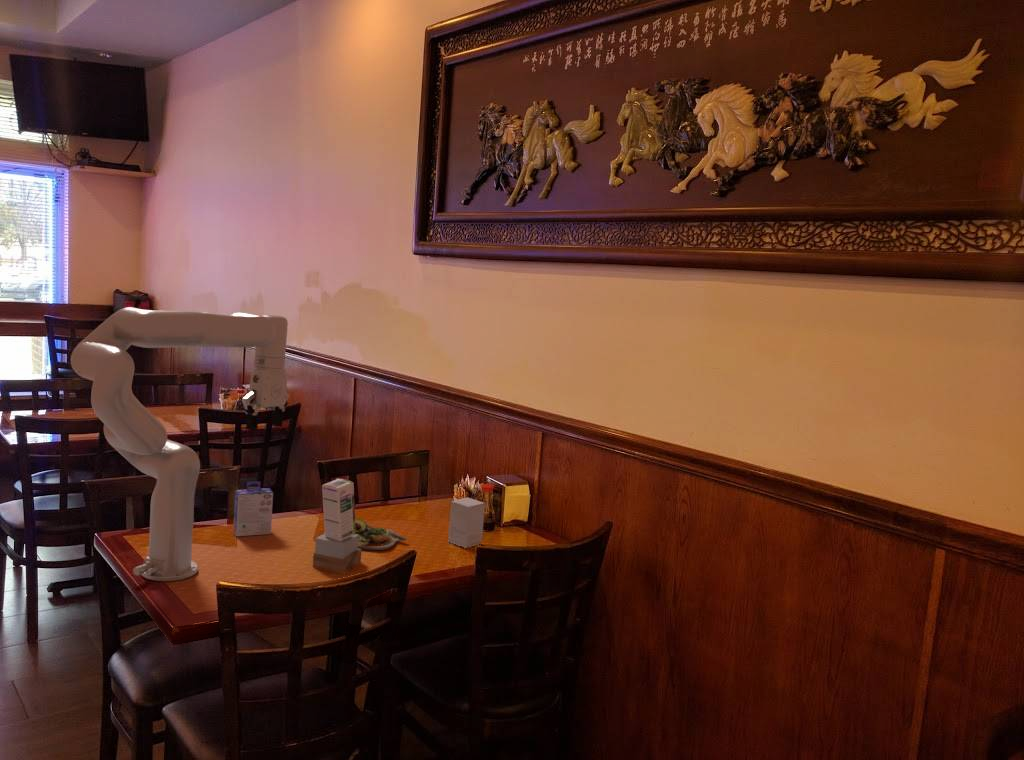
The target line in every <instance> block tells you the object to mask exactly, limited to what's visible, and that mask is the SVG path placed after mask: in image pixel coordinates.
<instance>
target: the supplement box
mask: <svg viewBox="0 0 1024 760" xmlns="http://www.w3.org/2000/svg"><path fill="white" fill-rule="evenodd" d="M485 508H486V502H483V501H480V500H477V499H475V498H471V497H463V498H459V499H454V500H451V502H450V512H449V513H450V514H449V525H448V539H447V543H449V542H451V543H450V544H452V543H453V544H452V545H454V544H456V545H455V546H457V545H458V546H457V547H460V546H462V547H464V548H463V549H465V548H467V547H470V548H472V547H471V546H473V545H475V544H476V545H477V546H480V545H479V544H478V543H481V542H483V532H484V519H485ZM476 545H475V546H474V547H476ZM462 547H461V548H462ZM467 549H468V548H467Z"/></svg>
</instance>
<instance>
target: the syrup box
mask: <svg viewBox="0 0 1024 760" xmlns="http://www.w3.org/2000/svg"><path fill="white" fill-rule="evenodd" d="M321 491H322V508H323V522H324V523H323V525H324V526H323V527H324V533H325V537H327V538H330V539H333V540H337V541H340V542H341V541H343V540H344V539H346V538H348V537H351V536H353V535H355V534H356V525H355V519H356V510H355V508H356V507H355V486H354V482H353V481H352V480H349V479H344V478H336V479H334V480H332V481H329V482H327V483H324V484H322V485H321Z"/></svg>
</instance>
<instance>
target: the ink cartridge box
mask: <svg viewBox="0 0 1024 760" xmlns="http://www.w3.org/2000/svg"><path fill="white" fill-rule="evenodd" d="M253 484H254V485H257V486H250V485H253ZM273 501H274V491H273V490H272V489H271V488H270V487H266V488H265V487H264V488H262V487H261V481H259V480H258V481H257V480H256V481H246V489H236V490H235V491H234V510H233V511H234V513H233V515H234V517H233V528H232V532H233V534H234V536H235V537H247V536H257V535H258V536H259V535H270V534H272V520H273V503H274V502H273Z"/></svg>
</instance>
